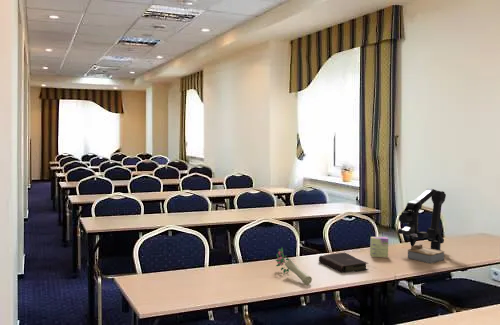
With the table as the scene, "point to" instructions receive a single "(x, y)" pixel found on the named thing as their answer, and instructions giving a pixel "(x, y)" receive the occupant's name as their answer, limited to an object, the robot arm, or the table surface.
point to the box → (379, 247)
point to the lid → (424, 250)
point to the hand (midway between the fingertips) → (412, 246)
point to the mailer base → (425, 257)
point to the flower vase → (292, 268)
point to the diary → (343, 262)
